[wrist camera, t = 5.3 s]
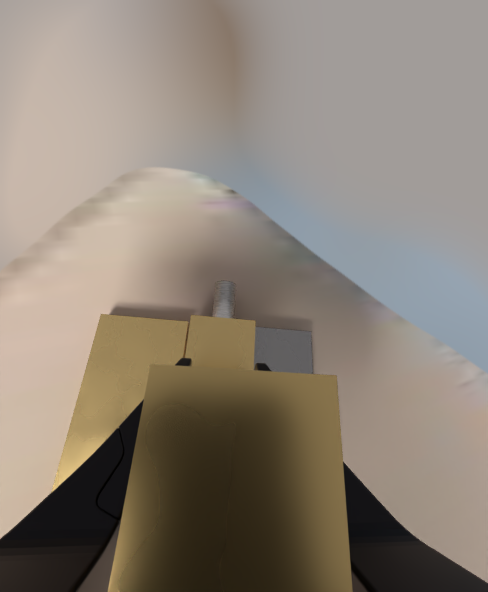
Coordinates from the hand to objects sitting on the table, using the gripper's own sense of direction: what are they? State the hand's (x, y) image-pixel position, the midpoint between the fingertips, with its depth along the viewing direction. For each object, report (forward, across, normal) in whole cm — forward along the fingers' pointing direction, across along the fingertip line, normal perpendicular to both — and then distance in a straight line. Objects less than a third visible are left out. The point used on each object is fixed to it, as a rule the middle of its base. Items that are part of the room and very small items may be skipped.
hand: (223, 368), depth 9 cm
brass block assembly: (+3, +3, +7) cm, 9 cm away
